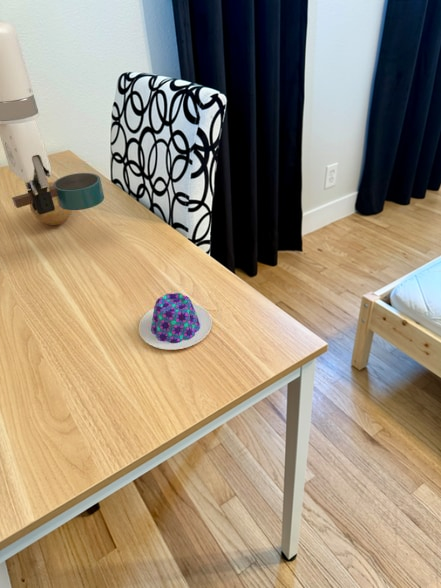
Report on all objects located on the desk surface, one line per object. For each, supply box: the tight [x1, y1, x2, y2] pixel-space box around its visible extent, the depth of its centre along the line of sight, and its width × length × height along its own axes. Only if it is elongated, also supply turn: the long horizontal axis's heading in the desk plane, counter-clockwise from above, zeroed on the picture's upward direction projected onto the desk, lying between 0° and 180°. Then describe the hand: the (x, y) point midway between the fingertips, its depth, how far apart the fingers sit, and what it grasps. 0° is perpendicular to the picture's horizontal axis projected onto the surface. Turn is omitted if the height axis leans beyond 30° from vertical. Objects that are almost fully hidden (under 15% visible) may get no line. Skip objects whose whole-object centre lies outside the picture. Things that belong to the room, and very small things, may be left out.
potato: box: [29, 181, 74, 226], centre depth 101 cm, size 10×14×8 cm
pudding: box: [138, 292, 213, 351], centre depth 69 cm, size 12×12×5 cm
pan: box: [11, 172, 105, 211], centre depth 83 cm, size 17×9×4 cm, turn 129°
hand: (44, 209), depth 83 cm, fingers closed on pan
